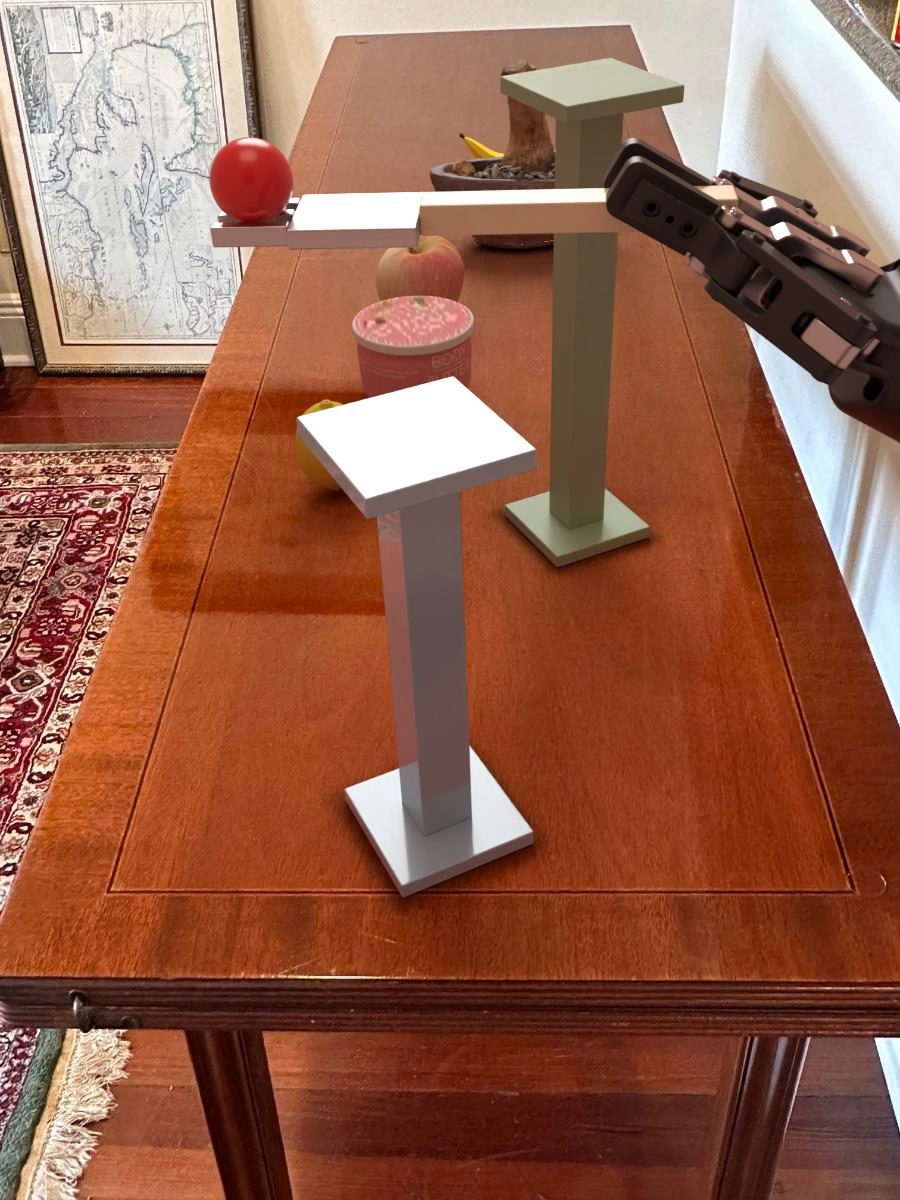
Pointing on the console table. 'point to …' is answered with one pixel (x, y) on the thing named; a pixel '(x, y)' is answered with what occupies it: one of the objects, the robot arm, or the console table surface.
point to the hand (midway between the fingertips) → (617, 172)
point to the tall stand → (583, 308)
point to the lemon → (309, 460)
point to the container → (412, 343)
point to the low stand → (425, 618)
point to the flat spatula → (387, 208)
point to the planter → (508, 166)
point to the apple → (421, 270)
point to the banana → (479, 149)
